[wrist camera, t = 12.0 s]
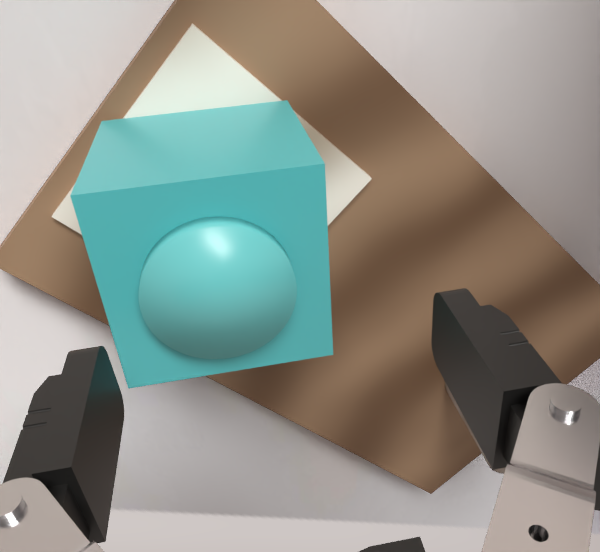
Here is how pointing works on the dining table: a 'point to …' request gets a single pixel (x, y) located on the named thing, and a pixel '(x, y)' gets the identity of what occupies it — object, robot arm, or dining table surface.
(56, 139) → the dining table surface
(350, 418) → the board
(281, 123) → the teal stud brick
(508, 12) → the dining table surface
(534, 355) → the robot arm
